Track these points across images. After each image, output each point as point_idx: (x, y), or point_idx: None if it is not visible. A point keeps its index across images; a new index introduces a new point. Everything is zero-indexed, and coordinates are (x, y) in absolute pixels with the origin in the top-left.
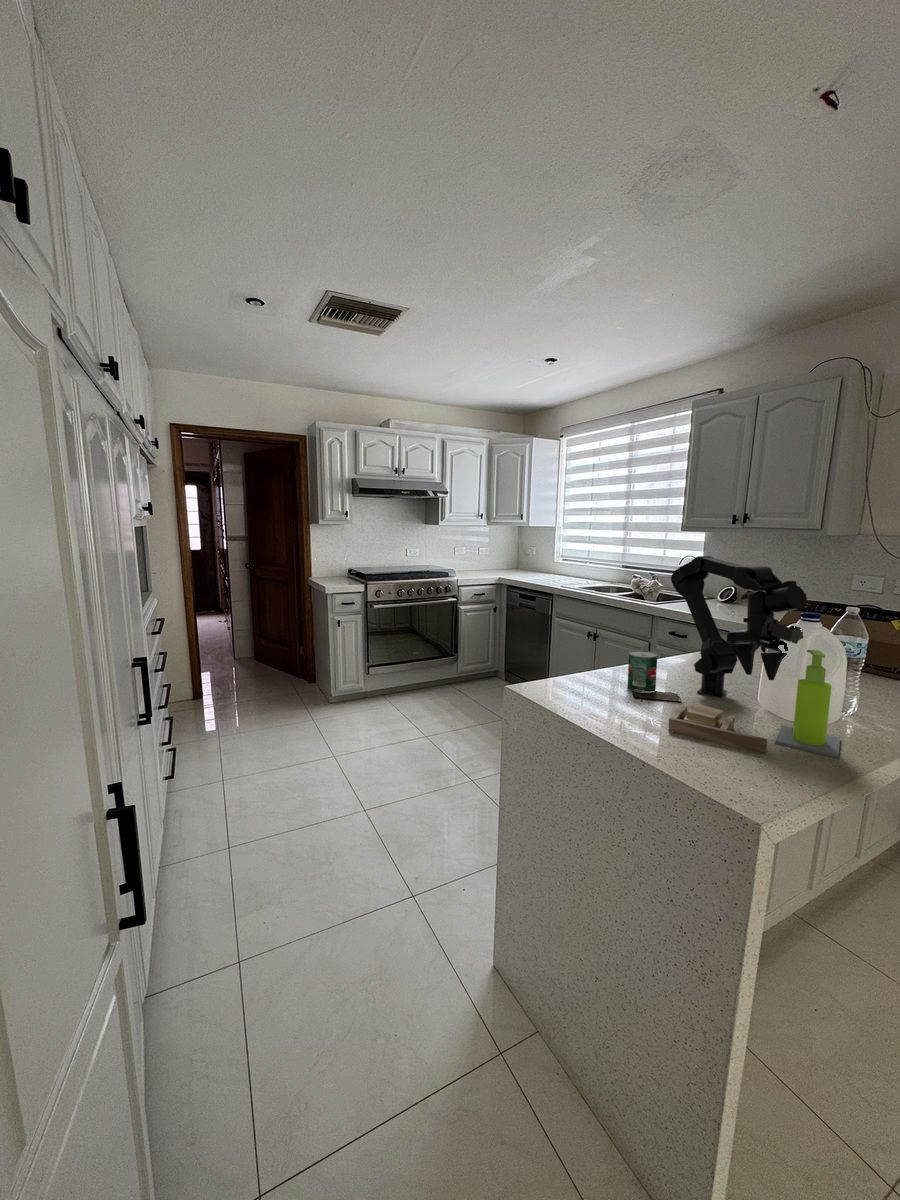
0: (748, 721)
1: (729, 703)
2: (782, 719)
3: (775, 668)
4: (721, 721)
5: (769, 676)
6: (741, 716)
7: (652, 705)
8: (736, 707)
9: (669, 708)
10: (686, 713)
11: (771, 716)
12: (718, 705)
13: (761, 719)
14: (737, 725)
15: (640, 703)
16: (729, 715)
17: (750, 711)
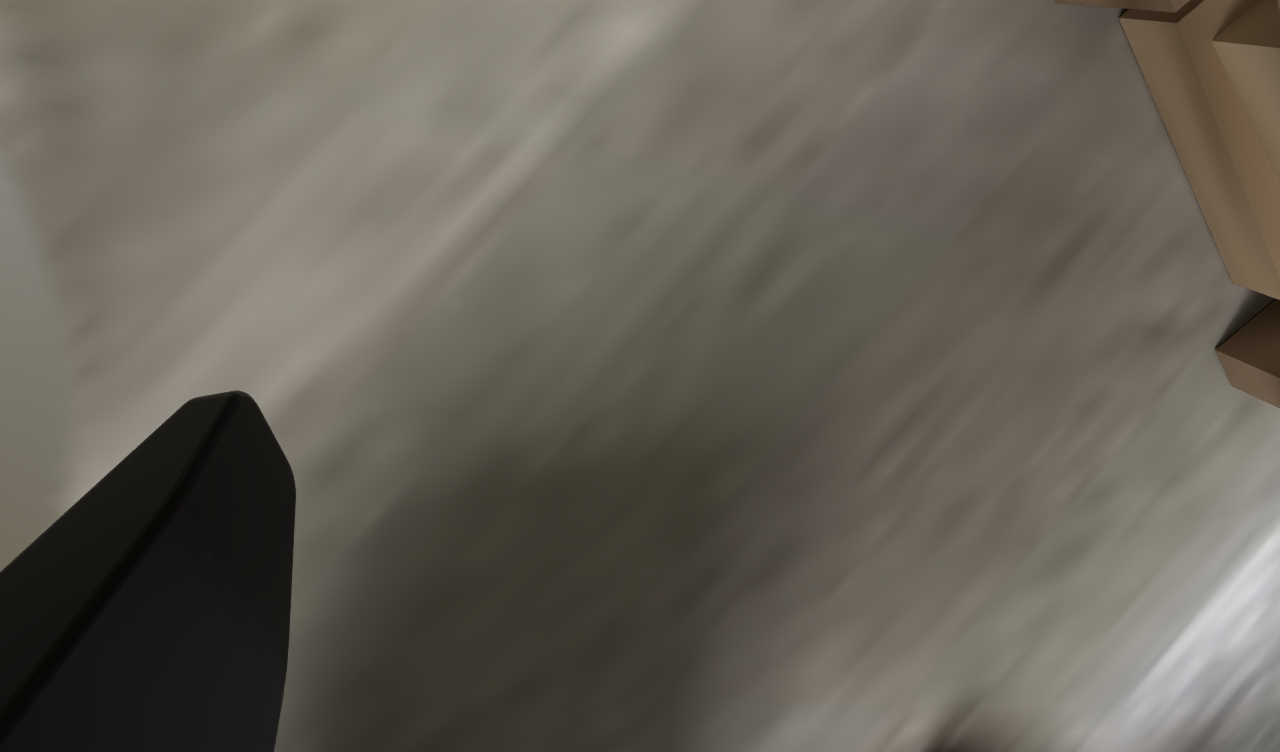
0: (664, 114)
1: (412, 715)
2: (69, 60)
3: (46, 685)
4: (1185, 28)
5: (273, 539)
6: (614, 291)
7: (1218, 686)
8: (428, 584)
9: (1149, 607)
10: (1273, 360)
11: (165, 211)
12: (605, 658)
13: (423, 138)
14: (904, 28)
15: (1265, 735)
16: (1175, 5)
17: (344, 435)
